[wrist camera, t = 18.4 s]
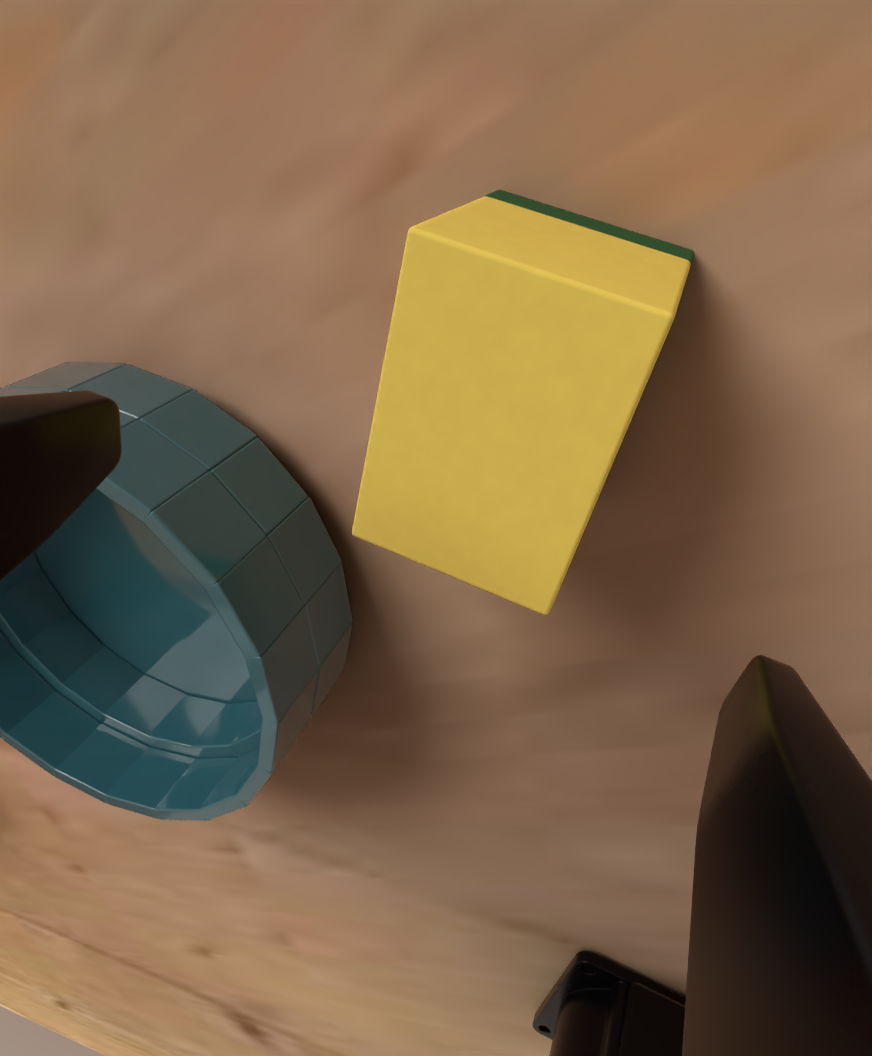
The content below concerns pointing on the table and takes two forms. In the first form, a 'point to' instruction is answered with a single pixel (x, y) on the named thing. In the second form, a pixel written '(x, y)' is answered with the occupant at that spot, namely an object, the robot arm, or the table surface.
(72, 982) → the table surface
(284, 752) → the bowl
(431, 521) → the sponge
